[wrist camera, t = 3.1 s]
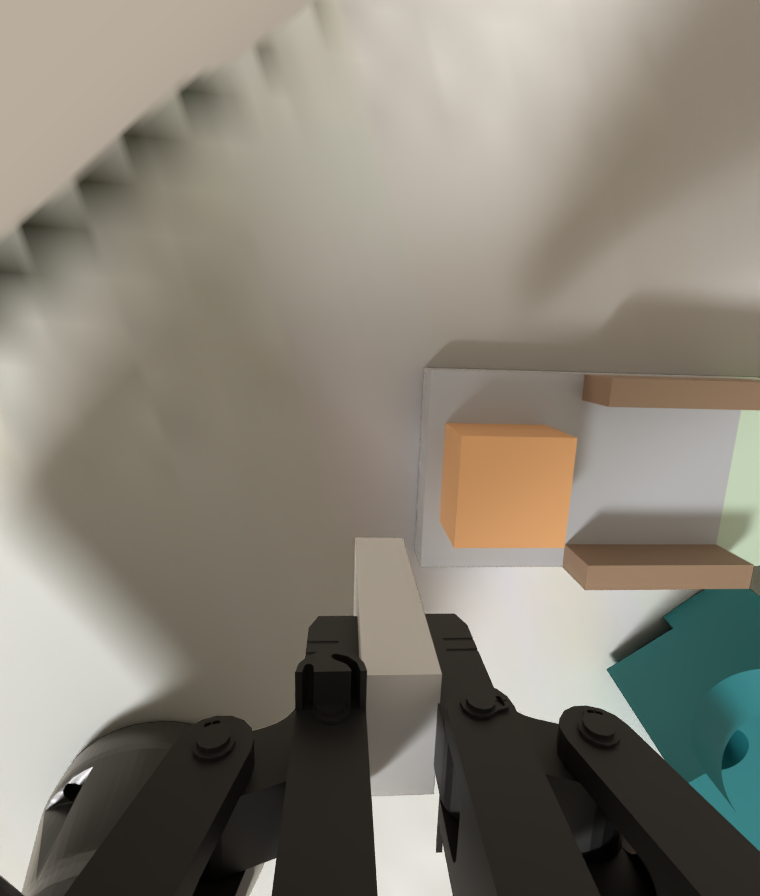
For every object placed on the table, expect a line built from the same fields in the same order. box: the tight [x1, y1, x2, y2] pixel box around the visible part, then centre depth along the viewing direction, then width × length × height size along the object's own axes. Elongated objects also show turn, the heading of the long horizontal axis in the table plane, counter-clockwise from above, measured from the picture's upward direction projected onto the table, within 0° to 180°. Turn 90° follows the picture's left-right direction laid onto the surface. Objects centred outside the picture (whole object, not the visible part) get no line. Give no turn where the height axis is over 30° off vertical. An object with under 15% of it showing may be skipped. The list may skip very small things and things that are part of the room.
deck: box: [415, 368, 760, 590], centre depth 30 cm, size 34×12×6 cm, turn 88°
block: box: [440, 423, 577, 548], centre depth 28 cm, size 6×6×4 cm
